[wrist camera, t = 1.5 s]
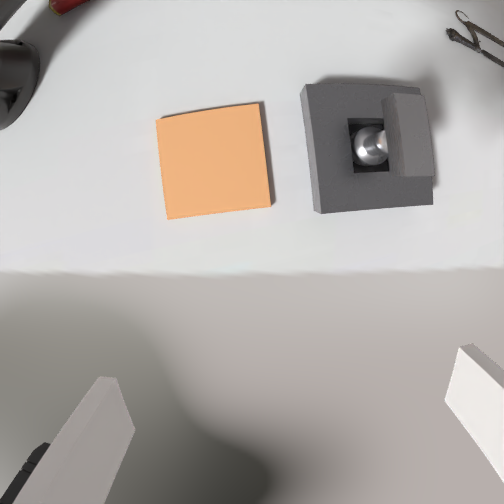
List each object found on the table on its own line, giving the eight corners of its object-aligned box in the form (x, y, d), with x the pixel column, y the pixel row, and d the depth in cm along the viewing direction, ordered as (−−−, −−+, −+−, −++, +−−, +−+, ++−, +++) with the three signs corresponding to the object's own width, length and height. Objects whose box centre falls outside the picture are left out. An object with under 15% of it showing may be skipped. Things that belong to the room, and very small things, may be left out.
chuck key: (343, 120, 33) (386, 92, 21) (376, 120, 33) (430, 96, 20) (350, 177, 35) (398, 176, 22) (383, 175, 35) (441, 175, 22)
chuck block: (299, 94, 33) (305, 84, 29) (404, 95, 32) (419, 88, 28) (313, 210, 36) (321, 213, 32) (417, 201, 35) (433, 204, 31)
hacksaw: (444, 38, 30) (449, 35, 29) (435, -9, 28) (440, -13, 26) (537, 92, 31) (543, 91, 29) (529, 47, 28) (534, 45, 27)
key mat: (157, 120, 33) (155, 119, 33) (258, 105, 33) (258, 103, 32) (169, 219, 36) (167, 219, 35) (270, 206, 36) (270, 206, 35)
